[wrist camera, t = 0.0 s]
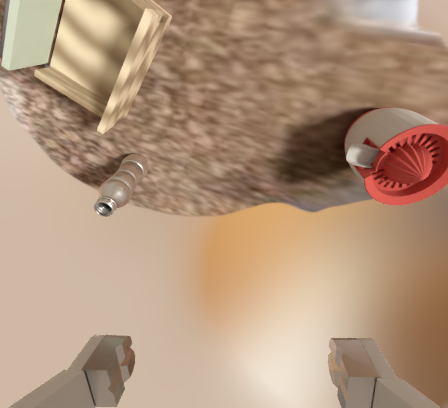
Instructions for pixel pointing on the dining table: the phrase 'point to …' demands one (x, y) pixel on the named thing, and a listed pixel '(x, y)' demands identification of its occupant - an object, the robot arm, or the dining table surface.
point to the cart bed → (105, 54)
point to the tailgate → (28, 32)
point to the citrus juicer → (398, 155)
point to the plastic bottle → (121, 185)
